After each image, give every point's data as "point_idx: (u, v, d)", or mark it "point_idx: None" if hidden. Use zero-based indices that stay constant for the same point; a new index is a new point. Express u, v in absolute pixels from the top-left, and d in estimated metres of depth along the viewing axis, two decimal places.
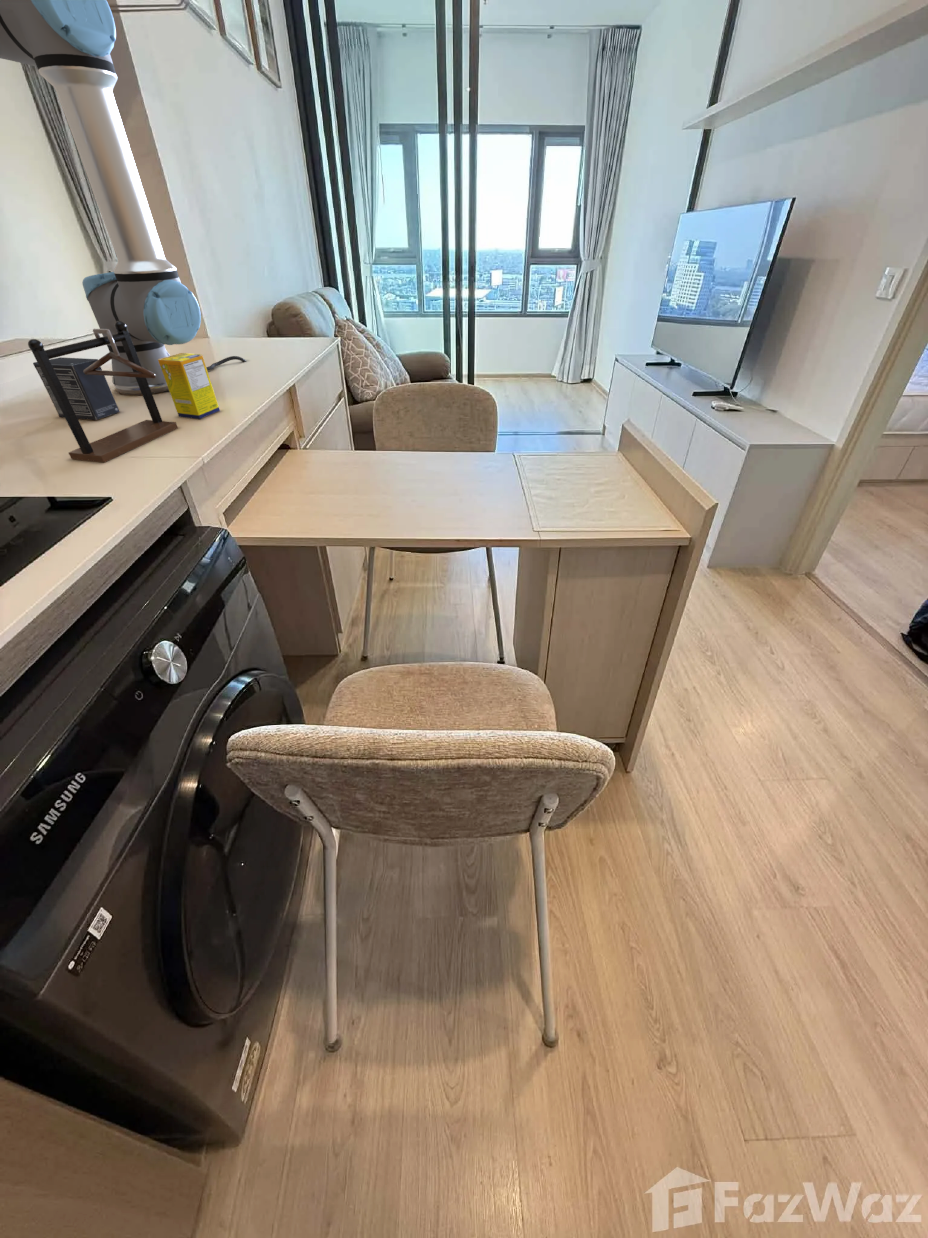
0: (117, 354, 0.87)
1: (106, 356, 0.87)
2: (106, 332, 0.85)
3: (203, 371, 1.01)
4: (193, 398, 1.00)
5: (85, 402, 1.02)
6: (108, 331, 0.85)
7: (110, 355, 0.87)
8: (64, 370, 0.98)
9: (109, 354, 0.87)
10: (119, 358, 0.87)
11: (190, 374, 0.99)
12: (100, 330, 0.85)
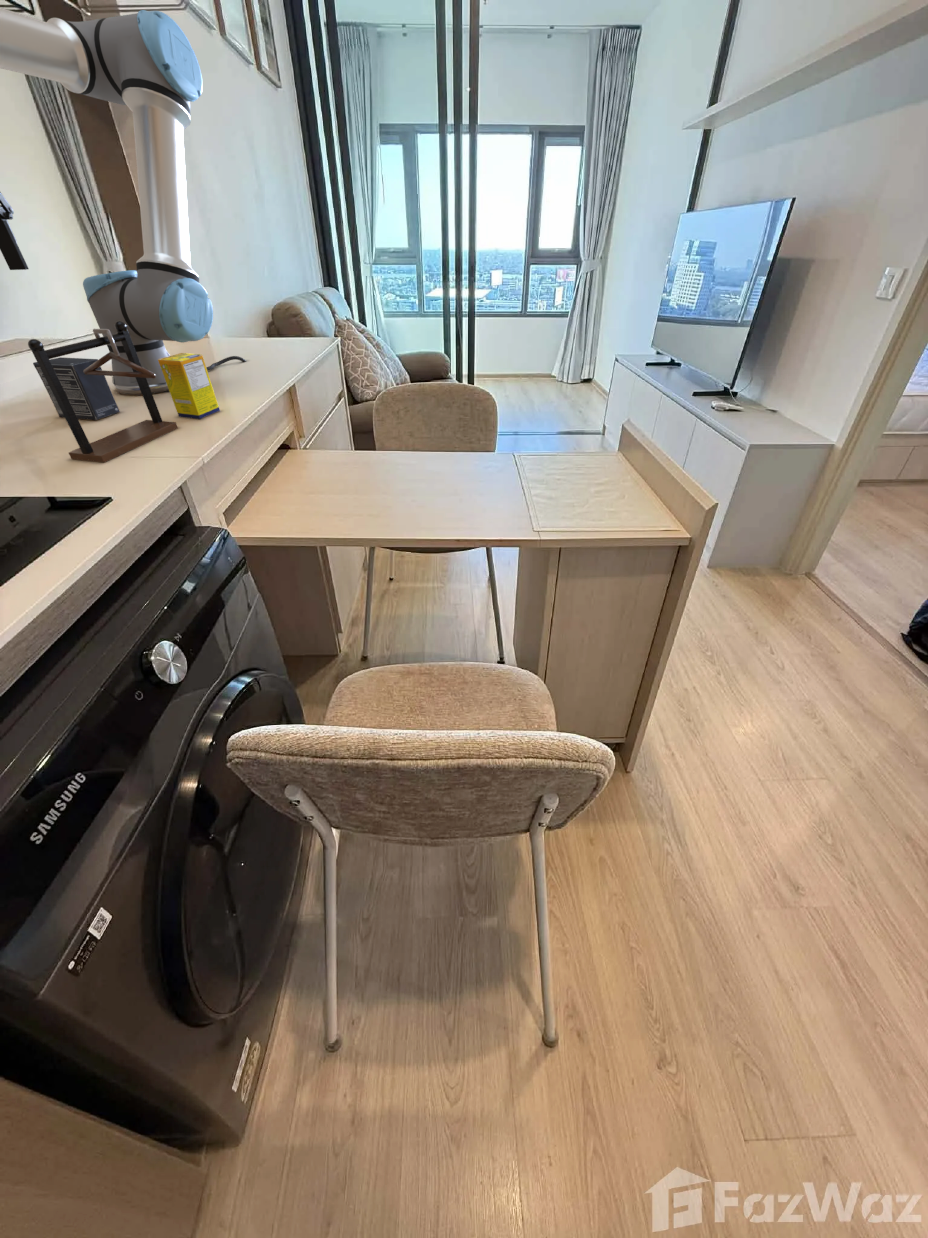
0: (117, 354, 0.87)
1: (106, 356, 0.87)
2: (106, 332, 0.85)
3: (203, 371, 1.01)
4: (193, 398, 1.00)
5: (85, 402, 1.02)
6: (108, 331, 0.85)
7: (110, 355, 0.87)
8: (64, 370, 0.98)
9: (109, 354, 0.87)
10: (119, 358, 0.87)
11: (190, 374, 0.99)
12: (100, 330, 0.85)
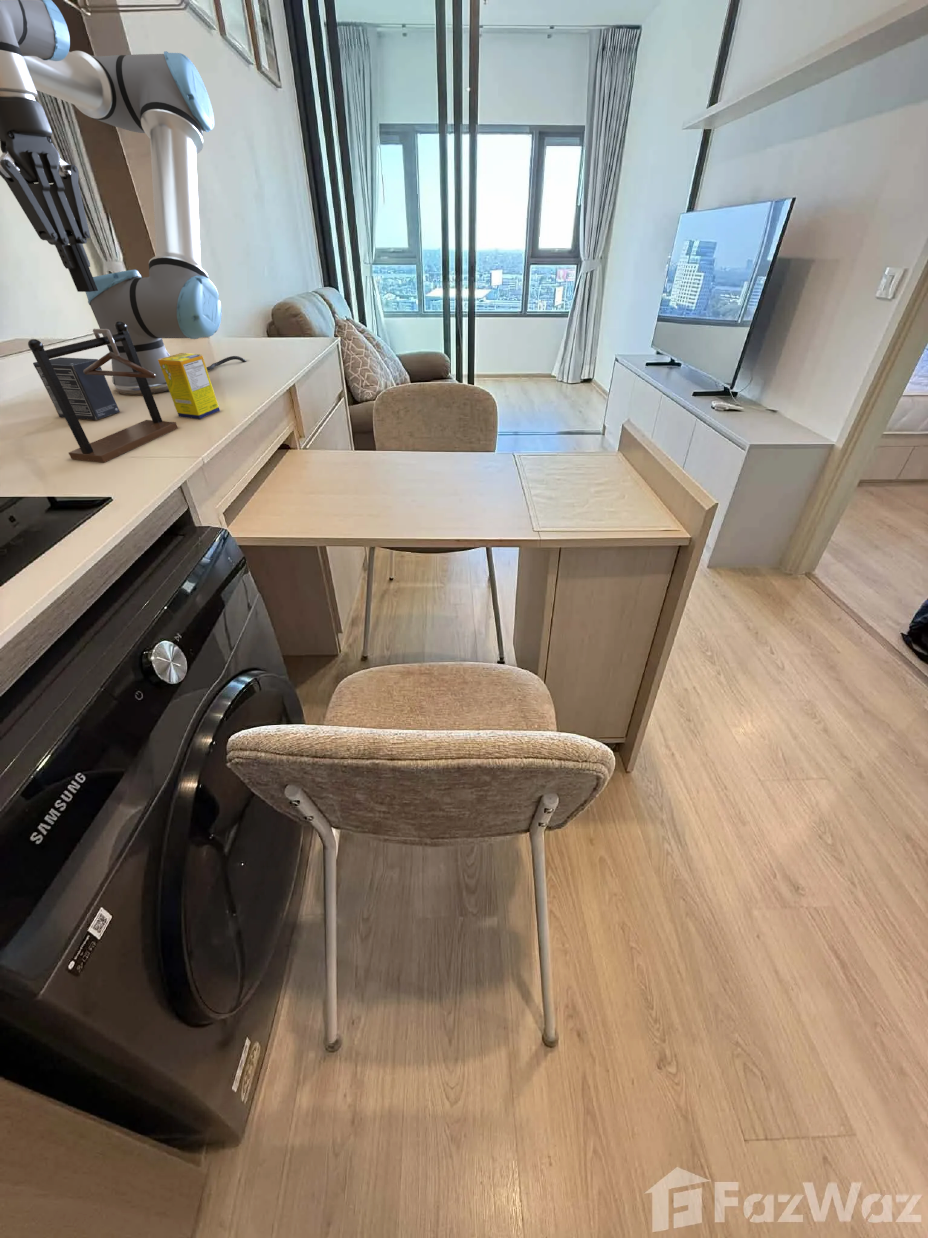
0: (117, 354, 0.87)
1: (106, 356, 0.87)
2: (106, 332, 0.85)
3: (203, 371, 1.01)
4: (193, 398, 1.00)
5: (85, 402, 1.02)
6: (108, 331, 0.85)
7: (110, 355, 0.87)
8: (64, 370, 0.98)
9: (109, 354, 0.87)
10: (119, 358, 0.87)
11: (190, 374, 0.99)
12: (100, 330, 0.85)
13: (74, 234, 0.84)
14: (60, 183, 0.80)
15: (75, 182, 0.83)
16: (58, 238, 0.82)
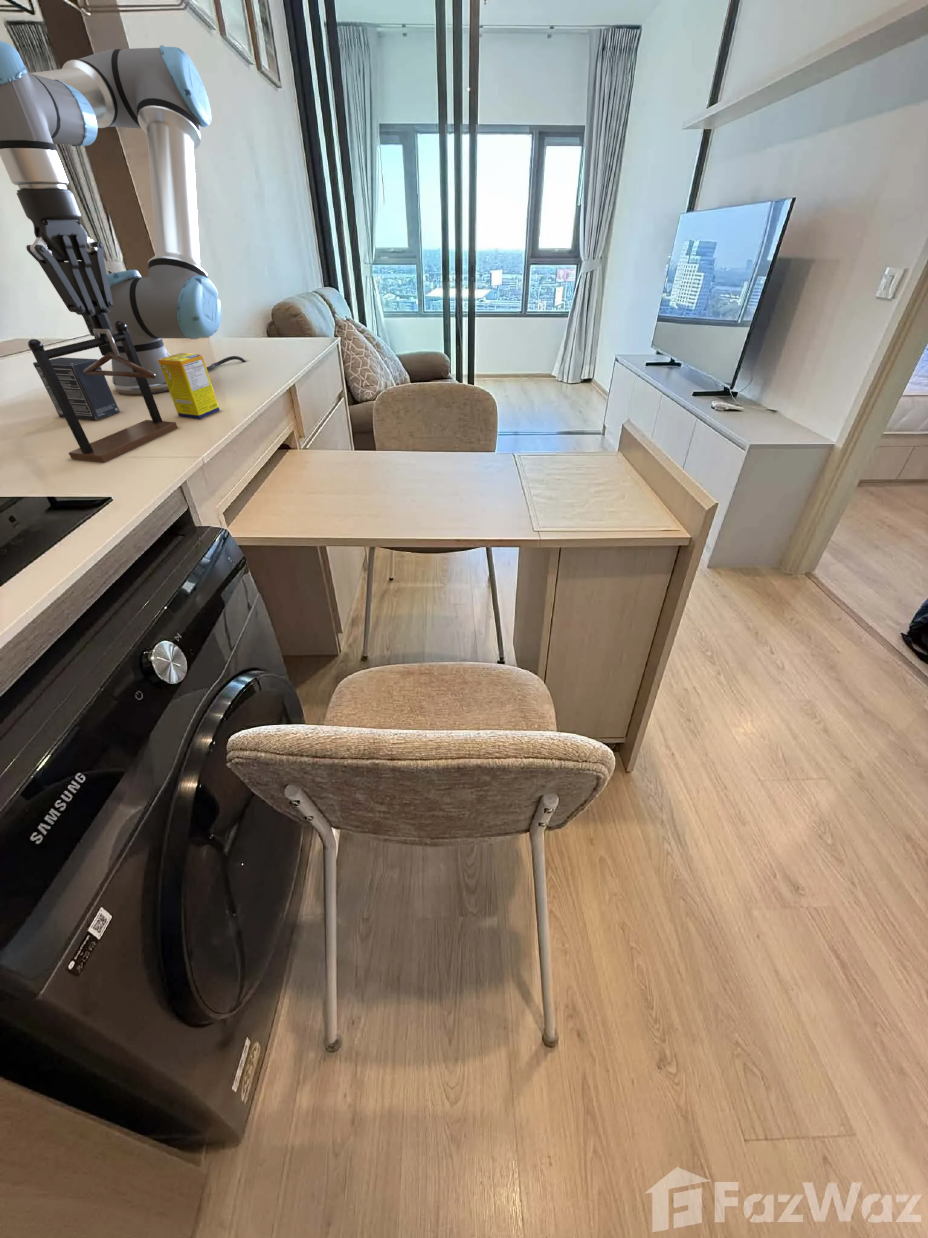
0: (117, 354, 0.87)
1: (106, 356, 0.87)
2: (106, 332, 0.85)
3: (203, 371, 1.01)
4: (193, 398, 1.00)
5: (85, 402, 1.02)
6: (108, 331, 0.85)
7: (110, 355, 0.87)
8: (64, 370, 0.98)
9: (109, 354, 0.87)
10: (119, 358, 0.87)
11: (190, 374, 0.99)
12: (100, 330, 0.85)
13: (99, 305, 0.89)
14: (87, 260, 0.86)
15: (101, 257, 0.88)
16: (85, 310, 0.88)
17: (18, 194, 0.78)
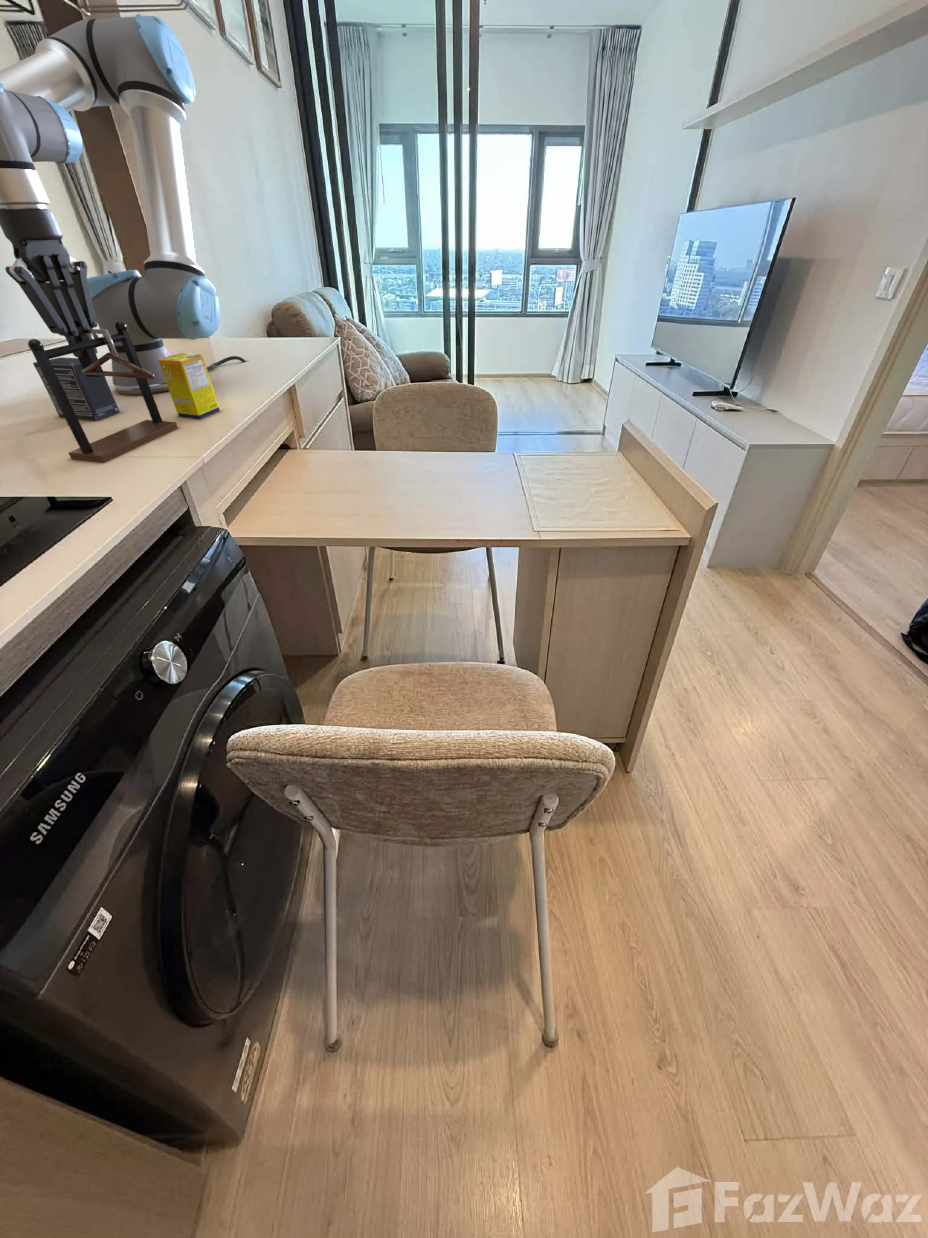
0: (115, 354, 0.87)
1: (104, 356, 0.87)
2: (105, 332, 0.84)
3: (203, 371, 1.01)
4: (193, 398, 1.00)
5: (85, 402, 1.02)
6: (106, 331, 0.84)
7: (108, 355, 0.87)
8: (64, 370, 0.98)
9: (107, 354, 0.87)
10: (117, 358, 0.87)
11: (190, 374, 0.99)
12: (98, 330, 0.84)
13: (82, 325, 0.87)
14: (70, 280, 0.84)
15: (84, 277, 0.86)
16: (68, 331, 0.85)
17: None
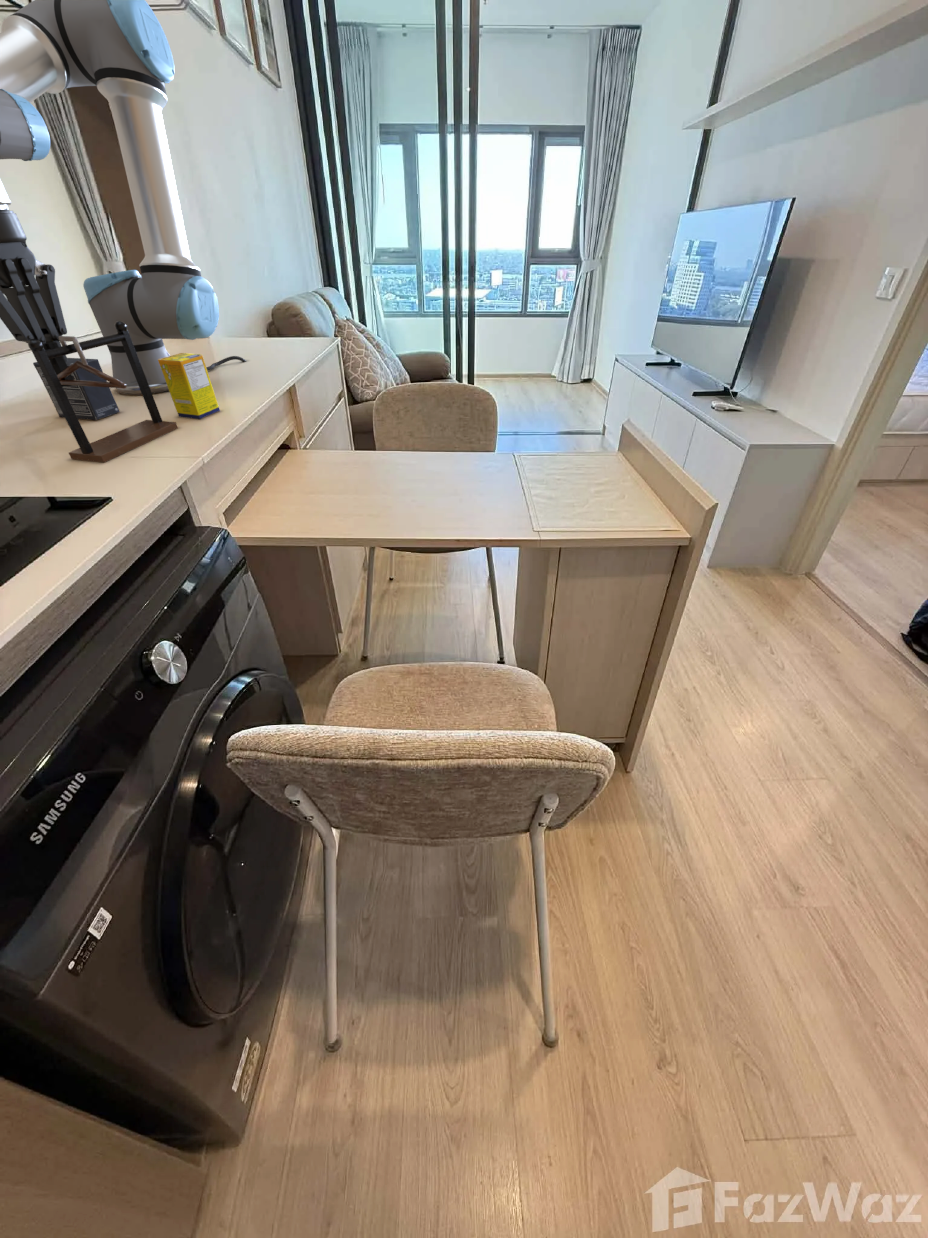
0: (85, 363, 0.82)
1: (73, 365, 0.82)
2: (73, 340, 0.80)
3: (203, 371, 1.01)
4: (193, 398, 1.00)
5: (85, 402, 1.02)
6: (74, 339, 0.80)
7: (78, 364, 0.82)
8: None
9: (76, 363, 0.82)
10: (87, 367, 0.82)
11: (190, 374, 0.99)
12: (66, 338, 0.80)
13: (50, 332, 0.83)
14: (35, 285, 0.79)
15: (51, 281, 0.81)
16: None
17: None
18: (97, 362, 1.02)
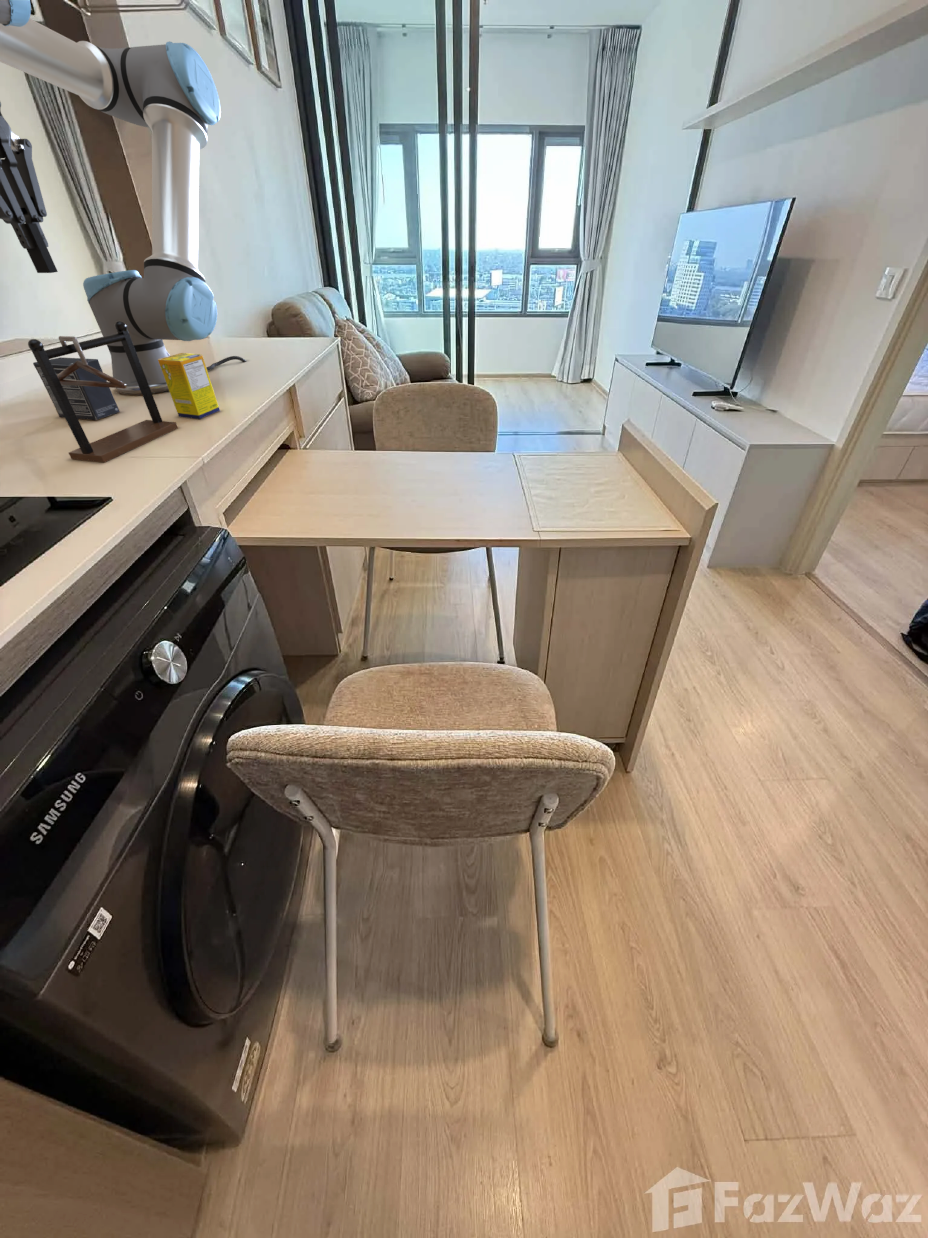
0: (85, 363, 0.82)
1: (73, 365, 0.82)
2: (73, 340, 0.80)
3: (203, 371, 1.01)
4: (193, 398, 1.00)
5: (85, 402, 1.02)
6: (74, 339, 0.80)
7: (78, 364, 0.82)
8: None
9: (76, 363, 0.82)
10: (87, 367, 0.82)
11: (190, 374, 0.99)
12: (66, 338, 0.80)
13: (29, 212, 0.81)
14: (12, 158, 0.77)
15: (29, 157, 0.80)
16: (14, 216, 0.79)
17: None
18: (97, 362, 1.02)
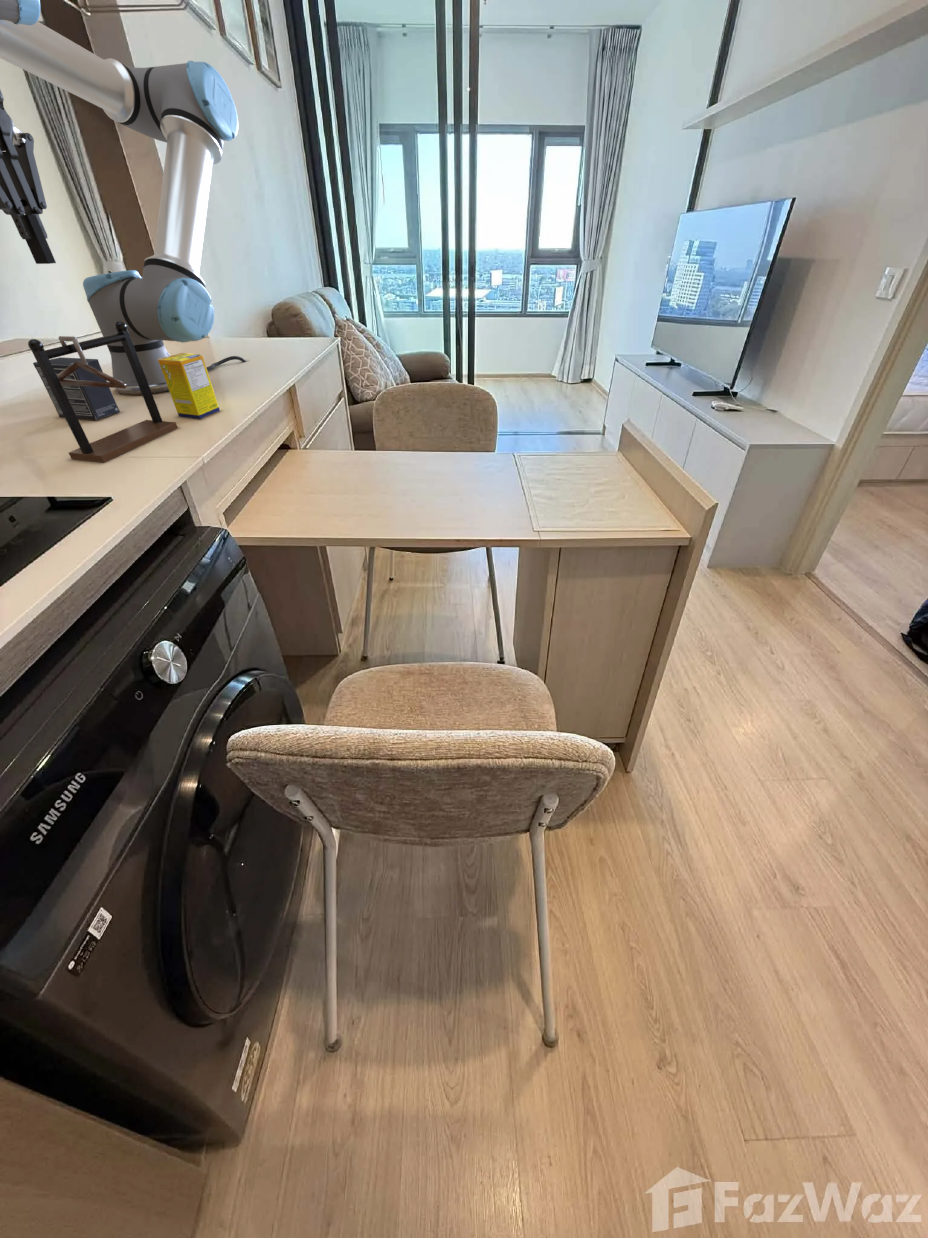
0: (85, 363, 0.82)
1: (73, 365, 0.82)
2: (73, 340, 0.80)
3: (203, 371, 1.01)
4: (193, 398, 1.00)
5: (85, 402, 1.02)
6: (74, 339, 0.80)
7: (78, 364, 0.82)
8: None
9: (76, 363, 0.82)
10: (87, 367, 0.82)
11: (190, 374, 0.99)
12: (66, 338, 0.80)
13: (29, 204, 0.82)
14: (13, 151, 0.79)
15: (30, 151, 0.81)
16: (13, 207, 0.81)
17: None
18: (97, 362, 1.02)
